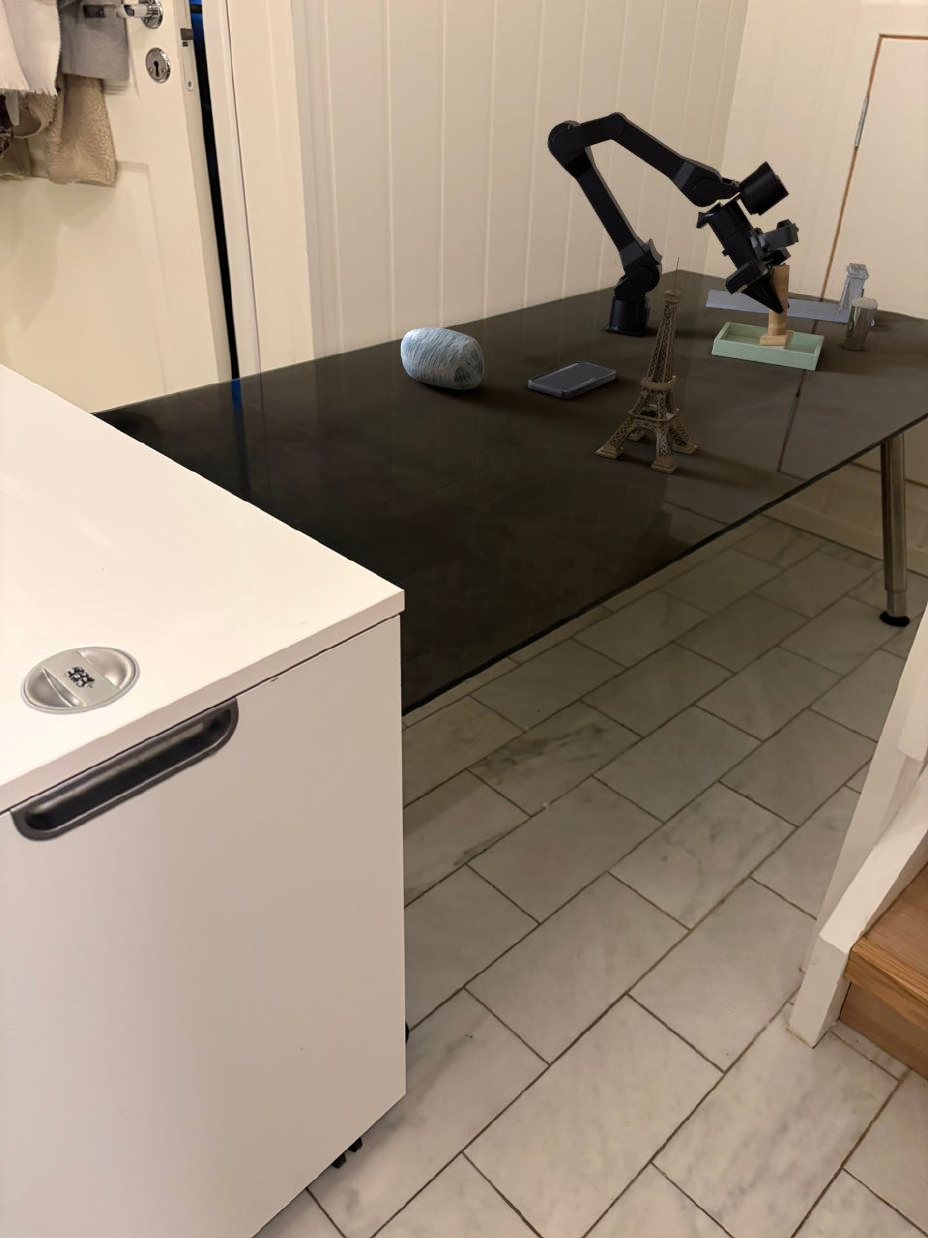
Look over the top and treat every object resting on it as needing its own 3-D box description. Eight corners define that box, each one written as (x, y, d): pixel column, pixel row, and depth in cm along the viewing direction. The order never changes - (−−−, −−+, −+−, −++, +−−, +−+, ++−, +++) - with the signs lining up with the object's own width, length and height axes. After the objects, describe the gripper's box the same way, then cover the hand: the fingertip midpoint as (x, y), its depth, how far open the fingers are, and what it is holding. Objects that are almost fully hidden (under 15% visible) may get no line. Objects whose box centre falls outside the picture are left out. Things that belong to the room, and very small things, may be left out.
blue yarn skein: (505, 364, 146) (479, 309, 139) (475, 406, 142) (446, 352, 135) (439, 365, 154) (411, 314, 148) (408, 404, 150) (378, 354, 144)
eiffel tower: (625, 430, 134) (653, 243, 120) (697, 448, 129) (734, 256, 116) (595, 454, 126) (621, 257, 112) (670, 473, 122) (707, 271, 108)
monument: (873, 325, 189) (887, 276, 184) (705, 306, 196) (714, 257, 191) (868, 310, 200) (881, 263, 195) (709, 292, 206) (717, 246, 201)
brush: (784, 352, 166) (789, 268, 159) (759, 352, 168) (763, 268, 161) (792, 344, 170) (797, 262, 164) (767, 344, 172) (771, 263, 166)
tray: (711, 354, 167) (714, 339, 166) (723, 335, 178) (726, 321, 177) (814, 370, 162) (818, 355, 161) (820, 350, 173) (824, 335, 172)
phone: (525, 380, 146) (578, 359, 156) (525, 387, 147) (577, 366, 157) (568, 392, 142) (619, 370, 152) (567, 400, 143) (618, 377, 153)
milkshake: (860, 344, 178) (875, 289, 172) (868, 352, 173) (884, 296, 168) (836, 342, 178) (850, 287, 172) (843, 350, 173) (857, 294, 168)
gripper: (759, 209, 152) (811, 292, 153) (791, 197, 166) (839, 273, 167) (703, 253, 160) (753, 332, 161) (738, 238, 173) (784, 310, 174)
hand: (784, 310), depth 165 cm, fingers closed on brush, 3 cm apart
